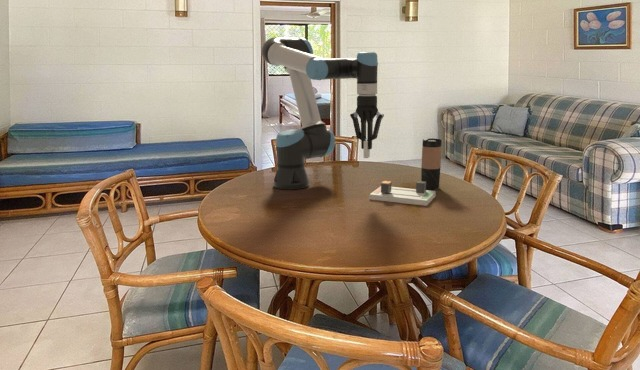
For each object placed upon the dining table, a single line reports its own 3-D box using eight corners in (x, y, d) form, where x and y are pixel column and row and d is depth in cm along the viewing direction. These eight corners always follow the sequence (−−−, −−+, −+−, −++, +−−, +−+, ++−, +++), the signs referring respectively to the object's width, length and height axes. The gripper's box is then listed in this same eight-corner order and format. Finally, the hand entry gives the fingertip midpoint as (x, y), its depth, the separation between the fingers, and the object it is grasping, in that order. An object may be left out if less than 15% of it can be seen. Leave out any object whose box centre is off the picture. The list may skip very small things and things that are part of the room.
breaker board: (369, 199, 186) (369, 184, 185) (381, 190, 198) (381, 176, 197) (426, 205, 177) (427, 190, 175) (435, 196, 189) (436, 181, 187)
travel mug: (439, 190, 197) (442, 141, 192) (420, 189, 198) (422, 141, 194) (439, 185, 204) (441, 138, 199) (420, 185, 206) (422, 138, 201)
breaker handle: (380, 192, 186) (381, 182, 185) (383, 190, 189) (384, 180, 188) (388, 193, 184) (388, 183, 183) (391, 191, 188) (391, 181, 187)
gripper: (346, 95, 181) (347, 158, 186) (380, 96, 175) (379, 160, 181) (354, 94, 187) (354, 154, 193) (387, 94, 182) (385, 156, 187)
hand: (366, 157), depth 187 cm, fingers closed
